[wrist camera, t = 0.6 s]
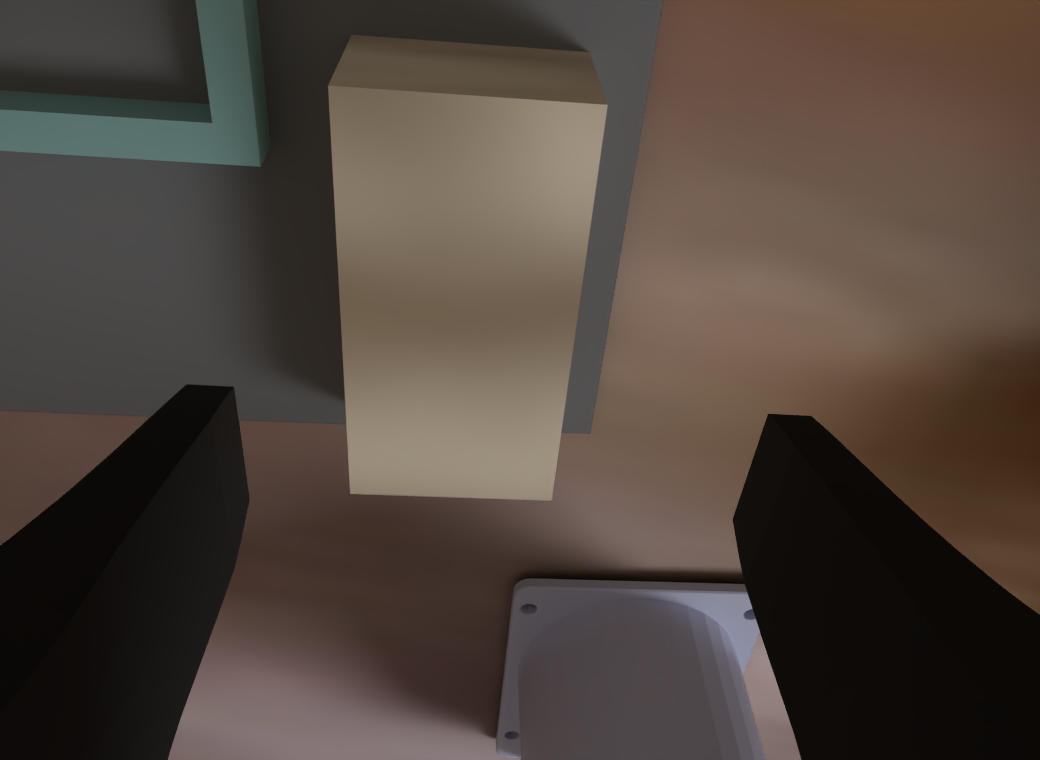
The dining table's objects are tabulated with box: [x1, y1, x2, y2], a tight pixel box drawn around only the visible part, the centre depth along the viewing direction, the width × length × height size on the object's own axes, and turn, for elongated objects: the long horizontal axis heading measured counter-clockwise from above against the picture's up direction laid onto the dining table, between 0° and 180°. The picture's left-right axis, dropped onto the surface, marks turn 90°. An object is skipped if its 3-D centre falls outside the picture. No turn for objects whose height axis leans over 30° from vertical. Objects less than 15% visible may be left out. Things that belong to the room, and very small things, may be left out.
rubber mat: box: [0, 0, 663, 434], centre depth 16 cm, size 18×20×1 cm
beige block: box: [328, 35, 608, 501], centre depth 18 cm, size 9×4×3 cm, turn 175°
